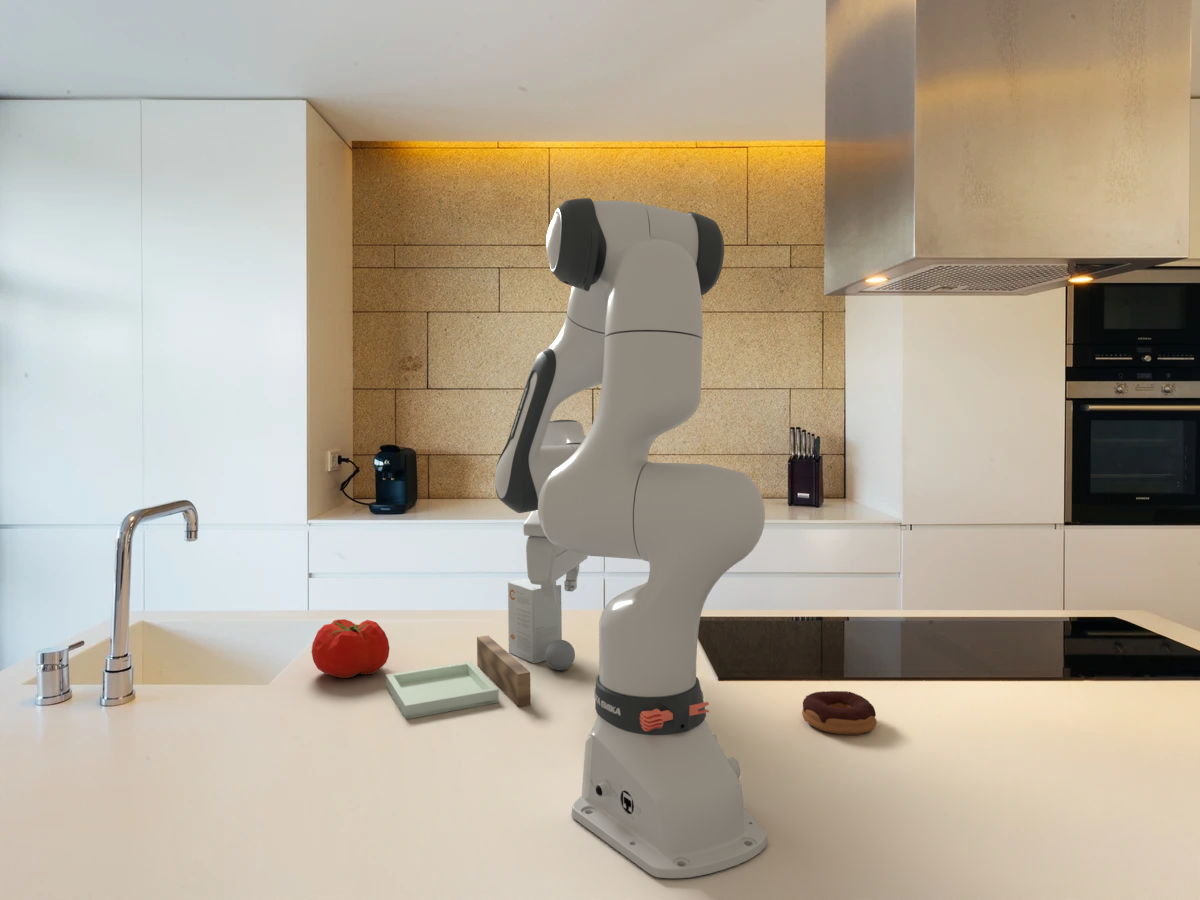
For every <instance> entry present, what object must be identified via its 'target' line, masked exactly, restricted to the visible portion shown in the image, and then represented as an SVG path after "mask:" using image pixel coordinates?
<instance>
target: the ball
mask: <svg viewBox="0 0 1200 900" xmlns="http://www.w3.org/2000/svg"><path fill="white" fill-rule="evenodd" d="M545 657H546V661H545V662H546V663H547V665H548V666H549V667H550V668H551V669H553V670H556V671H565V670H566V669H569V668H570V667H571V666H572V665H573V663H574V661H575V657H576V651H575V648H574V647H573V645H572V644H571V643H570V642H569V641H567V640H565V639H562V640H556V641H553V642H552V643H551V644H550V645H549V646H548V647H547V649H546V653H545Z"/></svg>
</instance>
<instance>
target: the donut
mask: <svg viewBox="0 0 1200 900" xmlns="http://www.w3.org/2000/svg"><path fill="white" fill-rule="evenodd" d="M801 711H802V712H801V715H802V718H803V719H804V721H805V722H806V723H807V724H809V725H811V726H812V727H814V728H815V729H817V730H820V731H822V732H826V733H830V734H835V735H836V734H837V735H845V736H846V735H847V736H849V735H850V736H851V735H852V736H853V735H862V734H866V733H869V732H871V731H873V730H874V729H875V728H876V726H877V725H878V724H877V718H876V715H877V714H876V710H875V708H874V705H873V704H872V703H871V702H870V701H869V700H867V699H866V698H865V697H864V696H861V694H860V695H859V694H857V693H855V692H852V691H847V690H846V691H844V690H840V691H838V690H836V691H834V690H830V691H822V690H821V691H816V692H812V693H810V694H808V695H806V696H805V697H804V699H803V702H802V710H801Z"/></svg>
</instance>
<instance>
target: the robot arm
mask: <svg viewBox="0 0 1200 900" xmlns="http://www.w3.org/2000/svg"><path fill="white" fill-rule="evenodd" d="M545 238H546V241H545V247H546V255H547V259H548V262H549V268H550V271H551V273H553V275H554V276H555V277H556V278H557V279H558V280H559V282H561V283H562V284H563V283H564V284H566V285H568V286H571V288H570V289H571V290H570V294H569V299H568V302H567V303H568V304H567V311H566V316H565V320H564V323H563V325H562V327H561V330H560V331H559V333H558V335H557V337H556V338H555V339H554V341H553V342H552V343H551V344H550V345H549V347H547V348H546V349H544V350H542V351H541V352H539V354H537V356H536V358H535V360H534V363H533V364H532V367H531V370H530V372H529V375H528V377H527V381H526V383H525V386H524V389H523V392H522V395H521V397H520V401H519V405H518V407H517V411H516V413H515V416H514V417H515V418H514V419H513V420H514V421H513V423H512V426H511V430H510V433H509V436H508V438H507V442H505V443H506V444H505V446H504V448H503V450H502V452H501V453H500V455H499V458H498V460H497V463H496V468H495V474H494V487H495V493H496V496H497V498H498V499H499V500H500V502H502V503H503V504H504V505H505V506H507V507H508V509H510V510H512V511H513V512H515V513H518V514H523V513H528V512H530V514H529V516H528V517H527V518H526V519H525V521H524V523H523V527H522V528H523V529H522V530H523V535H524V536H527V539H526V543H525V545H526V546H525V550H526V551H525V554H526V555H525V556H526V558H525V559H526V570H527V577H528V578H529V580H530V582H531V583H532V584H536V585H541V589H542V592H543V594H544V601H545V606H547V607H554V606H555V605H556V604H557V603H558V594H556V592H555V586H556V583H557V581H558V580H559V579H560V578H562V577H563V576H565V580H564V591H565V592H570V593H571V592H574V591H575V590H577V588H578V587H577V585H578V583H577V582H578V576H579V573H580V564H582V563H583V562H584V561H586V560H587V559H588V556H589V557H600V558H614V559H627V560H641V561H645V562H648V563H649V574H648V579H647V581H646V582H644V583H642V584H639V585H637V586H634V587H632V588H629V589H628V590H626V591H623V592H622V593H619V594H618V595H616V596H615V597H613V598H612V599H611V600H610V601H609V602H608V603H606V605H605V606H604V608H603V610H602V612H601V615H600V618H599V625H598V626H599V627H598V632H599V634H598V636H599V637H598V641H599V643H598V649H599V650H598V651H599V653H598V656H599V657H598V659H599V660H598V662H599V665H598V666H599V667H598V668H599V670H598V671H599V674H598V675H597V676H596V679H595V687H594V700H595V704H594V709H595V711H596V713H597V716H596V719H595V722H594V725H593V727H592V729H591V731H590V732H589V734H588V735H587V738H586V740H585V743H584V757H583V771H582V772H583V773H582V783H581V784H582V785H581V786H582V787H581V796H579V798H577V799H576V800H575V801H574V802H573V804H572V806H571V817H572V818H573V819H574V820H575V821H577V822H578V823H580V824H581V825H582V826H583V827H585V828H586V829H588V830H589V831H590V832H592V833H593V834H595V835H596V836H597V837H599V838H600V839H601V840H603V841H604V842H606V843H607V844H608V845H610V846H611V847H612V848H614V849H615V850H616V851H618V852H620V854H622V855H623V856H624V857H626V858H627V859H628V860H630V861H632V862H633V863H634V864H635V865H637V866H638V867H640V868H641V869H642V870H644V871H645V872H646V873H647V874H649V875H651V876H653V877H656V878H658V879H659V878H663V879H684V878H694V877H700V876H704V875H708V874H712V873H716V872H720V871H723V870H726V869H729V868H732V867H734V866H735V867H736V866H737V865H740V864H742V863H745V862H747V861H749V860H751V859H752V858H754V857H756V856H757V855H758V854H760V853H761V852H762V851H763V850H765V848H766V847H767V845H768V834H767V833H766V831H765V830H764V828H763V827H762V825H760V824H759V822H758V820H756V818H755V817H753V816H752V814H751V813H750V812H749V811H748V810H747V808H746V807H745V806H744V805H745V804H744V794H743V787H742V784H741V781H740V777H741V776H740V775H741V766H740V763H739V762H738V760H737V758H735V757H732V756H731V757H727V756H726V754H725V752H724V751H723V749H722V747H721V746H720V743H719V742H718V737H717V736H716V735H715V734H714V733H713V732H712V730H711V728H710V726H709V724H708V723H707V720H706V717H707V713H710V710H709V709H706V707H708V706H709V705H710V702H708V701H706V702H705V701H704V694H703V693H704V692H703V691H702V689H701V683H700V680H699V678H698V677H697V654H698V653H697V652H698V642H699V641H698V639H699V628H700V627H699V626H700V621H701V615H702V611H703V608H704V605H705V603H706V600H707V599H708V596H709V594H710V592H711V591H712V589H713V588H714V586H715V585H716V583H718V581H719V580H720V578H721V577H722V576H723V575H724V574H726V572H727V571H729V570H730V569H732V568H733V566H735V565H736V564H738V563H740V562H741V561H742V560H744V559H745V558H746V557H747V556H749V554H751V552H753V551H754V549H755V547H756V546H757V545H758V543H759V541H760V539H761V536H762V534H763V531H764V528H765V527H764V526H765V520H766V509H765V503H764V499H763V497H762V496H763V495H762V493H761V492H760V489H759V488H758V486H757V484H756V483H755V482H754V481H753V479H752V478H751V477H750V476H749V475H748V474H747V473H745V472H742V471H737V470H734V469H729V468H725V467H722V466H716V465H712V464H707V463H680V462H679V463H678V462H676V463H675V462H674V463H673V462H651V461H648V459H649V453H650V450H651V447H652V445H653V444H654V442H655V441H656V439H657V438H658V437H659V436H661V435H663V434H665V433H668V432H670V431H671V430H673V429H675V428H677V427H679V426H681V425H683V424H684V423H685V422H687V421H688V420H690V419H691V417H693V415H694V414H696V411H697V410H698V407H699V406H700V404H701V400H702V368H703V339H704V333H703V332H704V330H703V329H704V327H703V325H704V324H703V323H704V322H703V319H704V317H703V303H702V296H705V295H706V294H708V292H709V291H710V290H711V289H713V287H715V285H716V284H717V282H718V281H719V278H720V276H721V273H722V268H723V263H724V257H725V256H724V255H725V242H724V241H725V240H724V236H723V233H722V231H721V229H720V227H719V225H718V223H717V221H715V220H714V219H712V218H710V217H707V216H705V215H702V214H699V213H697V212H693V211H689V212H687V213H686V212H683V211H678V210H675V209H670V208H666V207H662V206H656V205H648V204H644V203H643V202H639V201H629V200H626V201H625V200H592V199H591V198H590V197H585V198H582V197H581V198H575V199H569V200H568V199H567V200H564V201H563V203H561V204H560V205H559V206H558V207H557V208H556V209H555V211H554V214H553V218H552V219H551V222H550V223H549V226H548V229H547V233H546V237H545ZM600 385H601V387H600V390H601V391H600V396H599V403H598V407H597V410H596V414H595V417H594V420H593V422H592V425H591V427H590V429H589V431H588V432H587V434H586V435H585V432H584V428H583V424H582V423H581V422H579V421H577V420H574V419H555V420H551V419H552V416H553V413H554V411H555V410H556V409H557V407H558V406H559V405H560V404H562V403H563V402H564V401H565V400H567V399H569V398H570V397H572V396H575V395H576V394H579V393H580V392H583V391H584V390H588V389H590V388H592V387H596V386H600ZM528 578H527V579H528Z"/></svg>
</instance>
